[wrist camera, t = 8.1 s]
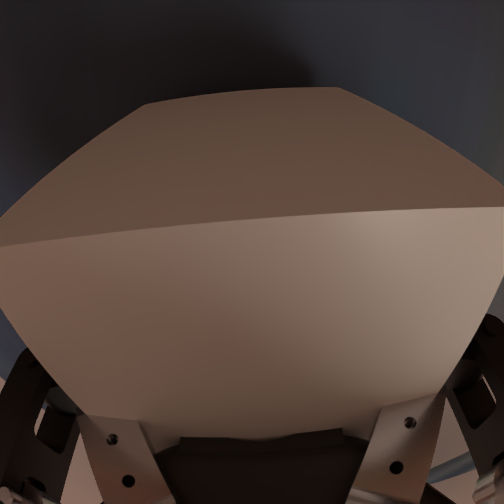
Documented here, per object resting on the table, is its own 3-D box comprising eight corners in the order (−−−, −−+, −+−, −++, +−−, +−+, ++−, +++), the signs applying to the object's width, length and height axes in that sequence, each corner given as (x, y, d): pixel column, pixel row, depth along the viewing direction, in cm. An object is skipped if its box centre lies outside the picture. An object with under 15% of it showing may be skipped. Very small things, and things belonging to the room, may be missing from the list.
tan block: (338, 87, 10) (528, 206, 3) (327, 314, 16) (363, 481, 9) (144, 104, 10) (-32, 252, 3) (196, 324, 16) (179, 493, 9)
